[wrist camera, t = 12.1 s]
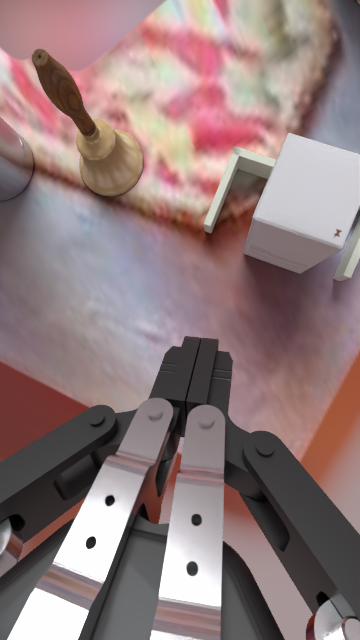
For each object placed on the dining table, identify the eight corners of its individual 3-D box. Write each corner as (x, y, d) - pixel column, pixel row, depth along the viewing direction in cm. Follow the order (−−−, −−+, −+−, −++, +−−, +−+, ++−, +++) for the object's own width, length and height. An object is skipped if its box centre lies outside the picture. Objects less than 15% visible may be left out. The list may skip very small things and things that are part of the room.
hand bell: (145, 129, 38) (91, -8, 22) (142, 196, 38) (87, 108, 22) (81, 131, 39) (-14, 3, 23) (79, 197, 39) (-17, 114, 23)
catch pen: (339, 281, 35) (350, 278, 32) (205, 231, 37) (203, 223, 34) (371, 207, 34) (386, 196, 31) (233, 160, 36) (235, 146, 33)
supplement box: (325, 215, 35) (384, 158, 23) (300, 275, 36) (344, 252, 23) (264, 194, 36) (288, 128, 23) (240, 253, 36) (251, 219, 24)
